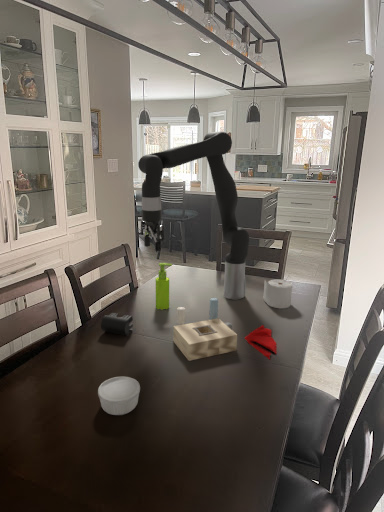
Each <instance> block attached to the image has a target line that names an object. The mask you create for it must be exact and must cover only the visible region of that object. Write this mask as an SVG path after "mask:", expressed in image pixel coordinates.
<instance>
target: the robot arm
mask: <svg viewBox="0 0 384 512" xmlns="http://www.w3.org/2000/svg"><path fill="white" fill-rule="evenodd" d="M232 139H233V138H232V137H231V135H229V133H227V132H225V131H211V132H207V133H206V134H205V136H204V137H203V140H202V141H197V142H193V143H187V144H183V145H182V144H181V145H177V146H175V147H172V148H168V149H165V150H163V151H157V152H153V153H152V152H151V153H149V154H144V155H143V156H141V157H140V158H139V160H138V163H137V165H138V170H139V171H141V173H143V174H145V177H144V181H143V182H142V184H141V219H142V220H141V221H140V235H141V236H143V242H144V247H145V248H147V247H150V246H151V237H152V238H153V240H154V251H155V252H161V250H162V242H163V241H165V227H164V225H162V224H161V225H160V223H159V222H160V221H161V220H162V200H161V182H162V178H163V177H162V176H163V172H164V170H165V169H172V168H175V167H176V168H177V167H179V166H182V165H185V164H187V163H191V162H193V161H196V160H199V159H204V158H206V160H207V163H208V165H209V170H210V173H211V174H210V175H211V179H212V182H213V188H214V189H213V190H214V194H215V198H216V202H217V206H218V210H219V211H218V212H219V216H220V221H221V229H222V237H223V240H224V242H225V244H227V245H228V246H230V253H229V252H228V253H226V254H225V261H224V281H223V282H224V285H223V297H224V298H225V299H229V300H234V301H235V300H242V299H243V298H245V297H246V287H247V286H246V285H247V277H245V275H246V274H245V273H246V271H245V270H246V262H247V261H246V259H247V257H248V252H249V246H250V234H249V231H248V230H247V229H246V228H245V229H244V228H242V227H239V225H238V221H237V217H236V210H237V206H238V201H239V200H238V198H239V196H238V191H237V186H236V182H235V180H234V178H233V176H232V175H231V173H230V171H229V170H228V168H227V165H226V164H225V161H224V155H226V154H228V153H229V152H230V150H231V149H232V146H233V140H232ZM150 236H151V237H150Z"/></svg>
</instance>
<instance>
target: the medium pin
mask: <svg viewBox="0 0 384 512" xmlns="http://www.w3.org/2000/svg"><path fill="white" fill-rule="evenodd" d="M183 324H186V308H185V307H184V306H179V307H177V308H176V326H178V325H183Z"/></svg>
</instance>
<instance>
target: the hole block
mask: <svg viewBox="0 0 384 512" xmlns="http://www.w3.org/2000/svg"><path fill="white" fill-rule="evenodd" d="M224 323H225V322H224V321H222V320H221V319H220V318H219V317H218V318H217V319H211V320H209V319H208V320H207V319H205V320H200V321H195V322H191V323H185V324H183V325H178V326H177V325H173V340H172V341H173V343H174V344H175V345H176V346H177V348H178V350H180V351H181V353H182V354H183V356H185V358H186V360H187V361H189V362H190V361H193V360H198V359H199V360H200V359H203V358H209V357H212V356H217V355H221V354H226V353H230V352H237V347H238V334H237V333H236V332H235V331H234V330H233V329H232V330H231V329H230V328H229V327H228V326H227V325H226V324H224Z"/></svg>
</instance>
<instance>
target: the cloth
mask: <svg viewBox="0 0 384 512" xmlns="http://www.w3.org/2000/svg"><path fill="white" fill-rule="evenodd" d="M244 340H246V342H247V343H248V344H249V345H251V346H252V348H254V349H255V350H256V351H258V352H259V353H260V354H262V355H263V356H264V357H266V358H267V359H268V360H270V361H271V357H270V356H272V353H274V354H275V355H277V349H278V348H277V342H276V341H275V339H274V338H273V336H272V329H270V328H267V327H266V328H265V325H264V324H262V325H261V326H259V327H257V328H255V329H254V330H252V331H250V332H249V334H247V335H246V336H245V337H244Z"/></svg>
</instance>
